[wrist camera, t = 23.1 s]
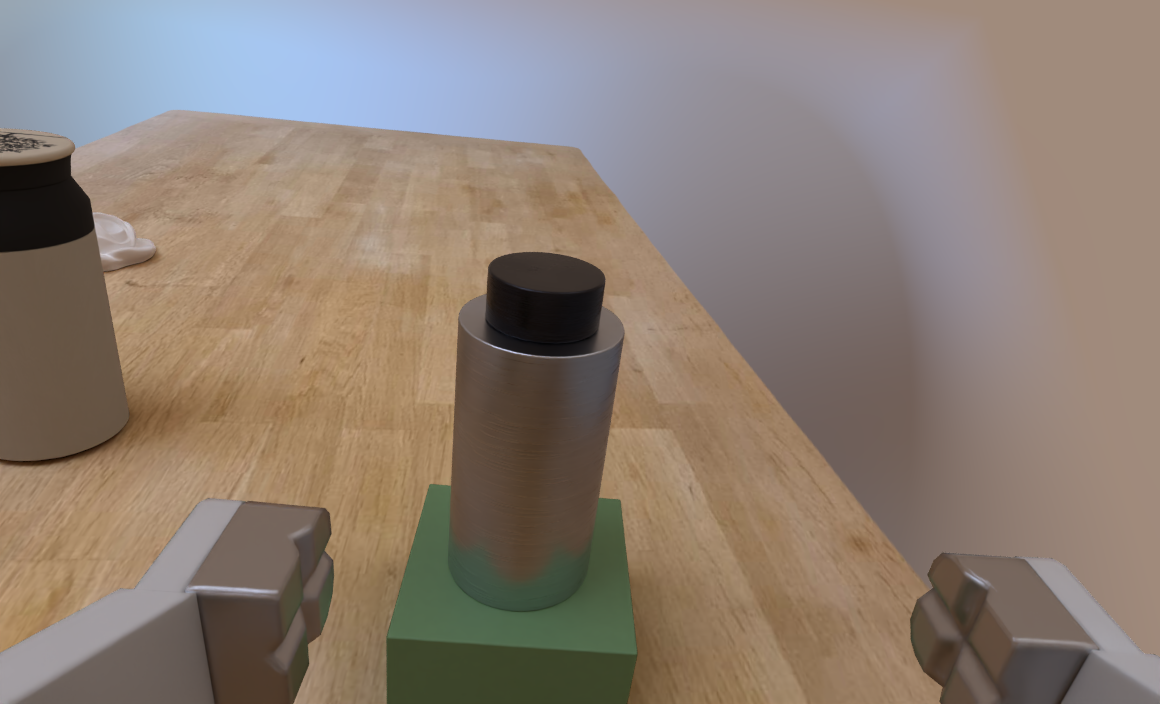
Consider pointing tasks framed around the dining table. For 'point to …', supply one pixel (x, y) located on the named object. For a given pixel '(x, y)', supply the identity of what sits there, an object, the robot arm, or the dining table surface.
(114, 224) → the rose
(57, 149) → the travel mug
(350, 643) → the dining table surface
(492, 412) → the flask
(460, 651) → the green block
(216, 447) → the dining table surface
